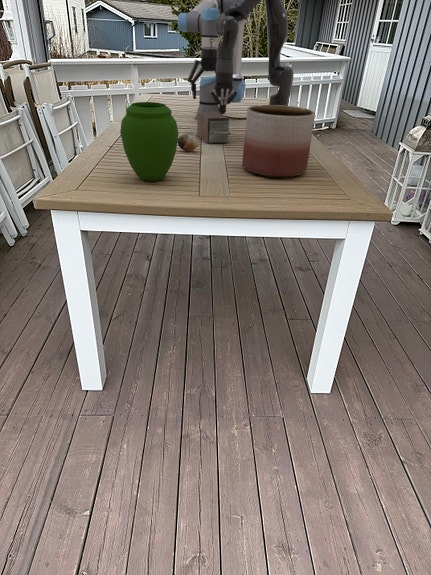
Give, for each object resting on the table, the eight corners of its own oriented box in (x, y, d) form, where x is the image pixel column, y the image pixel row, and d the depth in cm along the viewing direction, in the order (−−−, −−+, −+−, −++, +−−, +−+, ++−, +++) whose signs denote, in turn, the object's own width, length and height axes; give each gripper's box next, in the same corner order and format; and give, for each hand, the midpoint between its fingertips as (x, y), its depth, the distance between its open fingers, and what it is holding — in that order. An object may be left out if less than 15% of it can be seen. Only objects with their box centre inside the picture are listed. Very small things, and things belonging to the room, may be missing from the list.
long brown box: (227, 142, 199) (229, 118, 193) (207, 143, 196) (208, 118, 190) (216, 135, 213) (217, 111, 207) (197, 135, 210) (197, 111, 204)
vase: (131, 189, 135) (125, 110, 122) (118, 172, 150) (112, 100, 137) (186, 184, 142) (187, 109, 129) (169, 168, 157) (167, 99, 144)
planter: (315, 179, 154) (326, 116, 142) (250, 180, 150) (256, 115, 138) (293, 161, 175) (302, 105, 163) (236, 161, 171) (240, 103, 159)
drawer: (231, 144, 193) (233, 123, 187) (213, 145, 190) (214, 123, 185) (217, 134, 210) (217, 114, 205) (199, 134, 207) (200, 114, 202)
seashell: (198, 149, 184) (198, 131, 180) (199, 152, 180) (199, 133, 175) (176, 149, 183) (176, 130, 179) (177, 152, 178) (177, 133, 174)
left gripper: (185, 47, 181) (184, 99, 192) (237, 49, 188) (234, 100, 199) (181, 46, 187) (181, 97, 199) (232, 49, 194) (229, 97, 205)
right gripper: (212, 71, 172) (211, 115, 181) (241, 72, 176) (238, 115, 185) (207, 69, 178) (206, 112, 187) (235, 70, 182) (232, 112, 191)
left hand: (208, 98), depth 199 cm, fingers open, 13 cm apart
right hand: (222, 113), depth 186 cm, fingers closed
